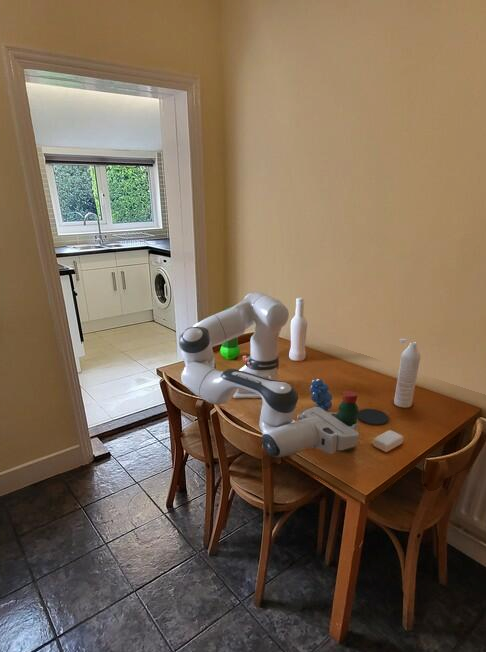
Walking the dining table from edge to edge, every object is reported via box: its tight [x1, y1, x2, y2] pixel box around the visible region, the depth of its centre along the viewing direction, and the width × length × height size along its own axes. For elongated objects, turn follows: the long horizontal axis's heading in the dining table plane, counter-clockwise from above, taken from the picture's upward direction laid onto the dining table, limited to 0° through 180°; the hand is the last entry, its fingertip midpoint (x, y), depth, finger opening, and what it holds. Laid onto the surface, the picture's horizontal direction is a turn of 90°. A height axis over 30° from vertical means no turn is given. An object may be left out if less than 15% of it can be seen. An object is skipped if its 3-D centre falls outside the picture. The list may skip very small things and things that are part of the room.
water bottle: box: [393, 337, 421, 409], centre depth 153 cm, size 9×6×25 cm
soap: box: [372, 429, 404, 453], centre depth 132 cm, size 9×6×3 cm, turn 126°
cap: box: [342, 390, 358, 403], centre depth 124 cm, size 4×4×2 cm
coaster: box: [357, 408, 389, 426], centre depth 148 cm, size 11×11×1 cm
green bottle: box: [337, 400, 360, 453], centre depth 128 cm, size 6×6×18 cm
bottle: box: [288, 297, 308, 362], centre depth 196 cm, size 8×8×30 cm
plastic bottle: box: [219, 306, 241, 360], centre depth 199 cm, size 10×10×25 cm
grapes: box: [309, 378, 333, 412], centre depth 152 cm, size 12×7×12 cm, turn 30°
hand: (349, 420), depth 128 cm, fingers closed on green bottle, 6 cm apart
